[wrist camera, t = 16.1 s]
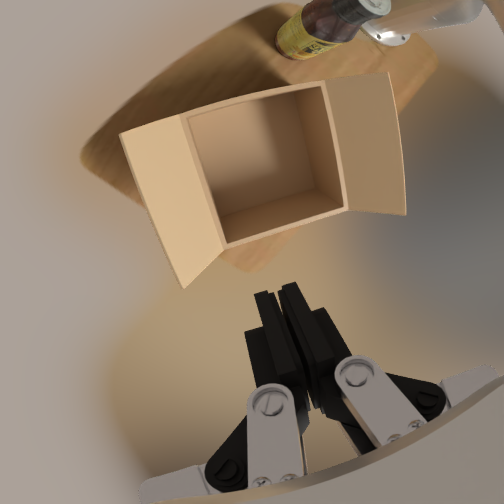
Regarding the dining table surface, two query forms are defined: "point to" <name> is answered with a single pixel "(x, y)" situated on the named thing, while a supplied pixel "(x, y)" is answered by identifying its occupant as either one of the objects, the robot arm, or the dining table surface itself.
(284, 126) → the carton
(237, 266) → the dining table surface
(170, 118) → the flap
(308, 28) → the sauce bottle
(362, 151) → the flap
